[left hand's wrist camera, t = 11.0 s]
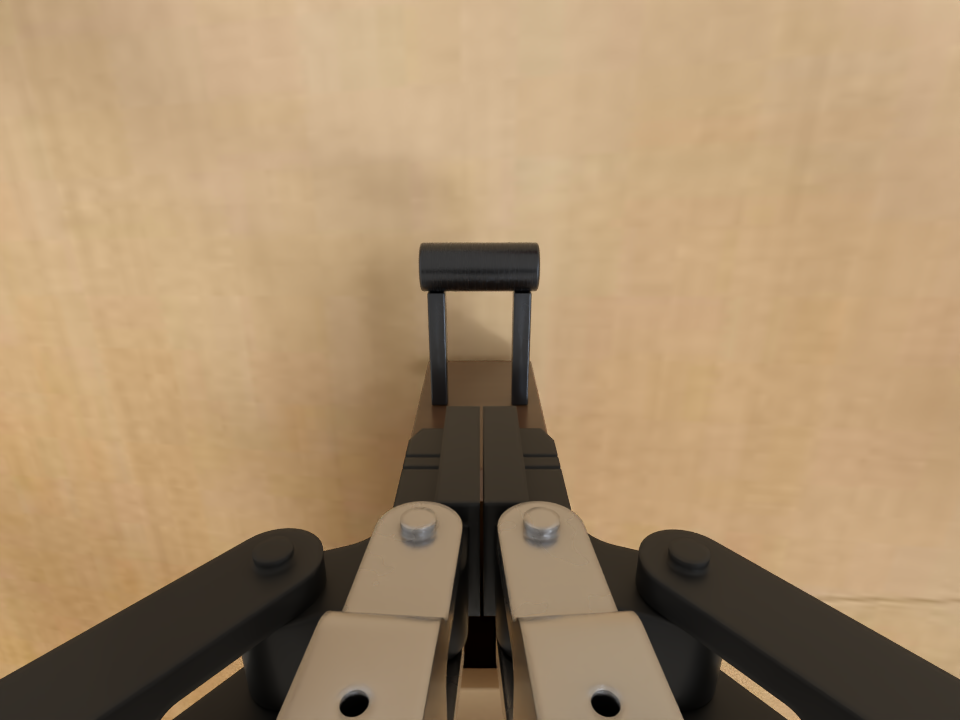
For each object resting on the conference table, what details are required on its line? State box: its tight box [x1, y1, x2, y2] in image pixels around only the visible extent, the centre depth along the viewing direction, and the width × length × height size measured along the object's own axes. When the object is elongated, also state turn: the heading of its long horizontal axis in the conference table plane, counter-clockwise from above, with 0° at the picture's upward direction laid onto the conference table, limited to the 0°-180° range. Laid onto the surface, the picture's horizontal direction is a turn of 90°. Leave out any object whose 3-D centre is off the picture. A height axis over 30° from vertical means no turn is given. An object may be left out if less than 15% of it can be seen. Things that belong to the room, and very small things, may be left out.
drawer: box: [411, 243, 547, 668], centre depth 23 cm, size 24×4×9 cm, turn 0°
